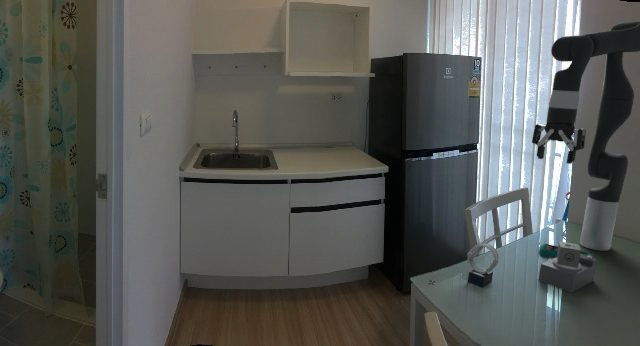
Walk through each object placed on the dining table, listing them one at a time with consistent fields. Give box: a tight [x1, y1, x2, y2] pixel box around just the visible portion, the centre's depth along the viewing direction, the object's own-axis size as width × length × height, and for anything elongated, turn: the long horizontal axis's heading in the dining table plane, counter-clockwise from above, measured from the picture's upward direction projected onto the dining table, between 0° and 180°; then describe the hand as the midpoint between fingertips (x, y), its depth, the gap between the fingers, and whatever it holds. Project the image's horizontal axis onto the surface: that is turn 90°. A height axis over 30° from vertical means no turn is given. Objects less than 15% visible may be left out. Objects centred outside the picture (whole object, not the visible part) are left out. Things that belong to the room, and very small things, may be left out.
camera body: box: [537, 254, 598, 293], centre depth 128 cm, size 14×9×7 cm, turn 128°
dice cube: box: [557, 240, 582, 268], centre depth 126 cm, size 5×5×5 cm
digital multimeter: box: [538, 243, 593, 259], centre depth 147 cm, size 7×15×3 cm, turn 58°
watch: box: [466, 242, 499, 289], centre depth 124 cm, size 6×8×11 cm
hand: (554, 160), depth 136 cm, fingers open, 8 cm apart
